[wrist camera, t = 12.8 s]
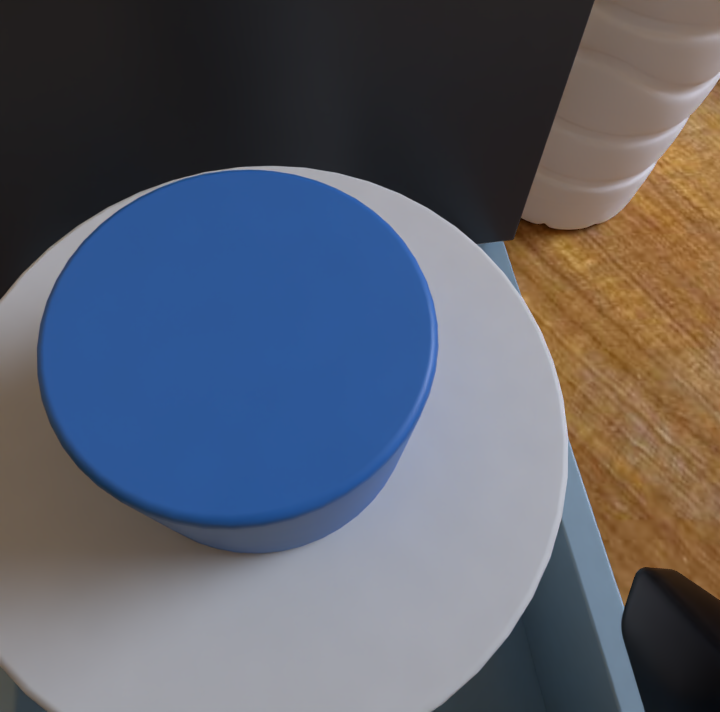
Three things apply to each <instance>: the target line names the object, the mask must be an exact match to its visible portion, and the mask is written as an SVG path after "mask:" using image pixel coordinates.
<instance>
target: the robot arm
mask: <svg viewBox="0 0 720 712" xmlns="http://www.w3.org/2000/svg"><path fill="white" fill-rule="evenodd" d="M621 631H622V637H623V641H624V644H625V647H626V651H627V654H628V657H629V661H630V664H631V667H632V671H633V674H634V677H635V681H636V684H637V687H638V691H639V694H640V697H641V701H642V704H643V707H644V711H645V712H720V600H719V599H717V598H716V597H714V596H713V595H711V594H710V593H708V592H707V591H705V590H704V589H702V588H701V587H699V586H698V585H696V584H695V583H694V582H692V581H691V580H689V579H688V578H686V577H685V576H683V575H682V574H680V573H679V572H677V571H675V570H671V569H662V568H650V567H644V568H641V569H640V570H639V571H638V572H637V573H636V575H635V577H634V580H633V583H632V586H631V589H630V592H629V595H628V599H627V602H626V605H625V608H624V611H623V614H622V619H621Z"/></svg>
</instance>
